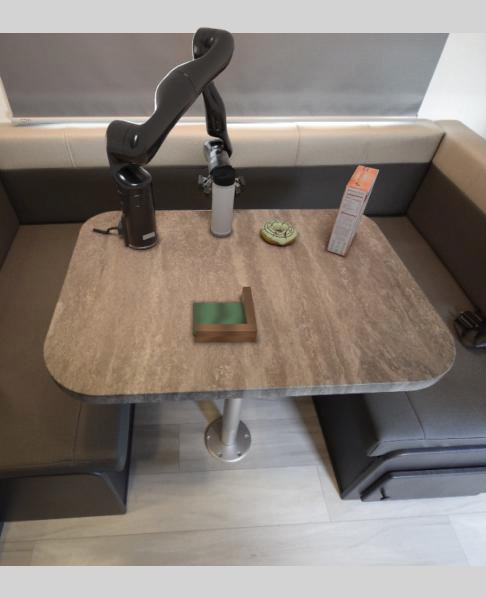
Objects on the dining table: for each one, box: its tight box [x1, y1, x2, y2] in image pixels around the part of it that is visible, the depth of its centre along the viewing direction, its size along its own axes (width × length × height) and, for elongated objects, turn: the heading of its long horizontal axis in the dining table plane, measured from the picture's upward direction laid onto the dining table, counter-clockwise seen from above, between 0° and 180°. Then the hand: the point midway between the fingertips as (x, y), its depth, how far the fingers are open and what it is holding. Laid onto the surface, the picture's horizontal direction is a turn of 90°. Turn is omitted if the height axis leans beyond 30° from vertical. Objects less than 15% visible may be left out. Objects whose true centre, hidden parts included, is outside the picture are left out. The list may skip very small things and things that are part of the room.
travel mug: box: [210, 164, 237, 238], centre depth 102 cm, size 6×7×20 cm
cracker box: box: [325, 165, 380, 257], centre depth 99 cm, size 14×6×21 cm, turn 150°
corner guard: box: [192, 286, 258, 343], centre depth 82 cm, size 14×14×4 cm
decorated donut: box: [260, 219, 298, 247], centre depth 106 cm, size 10×11×4 cm
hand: (222, 195), depth 103 cm, fingers open, 8 cm apart
